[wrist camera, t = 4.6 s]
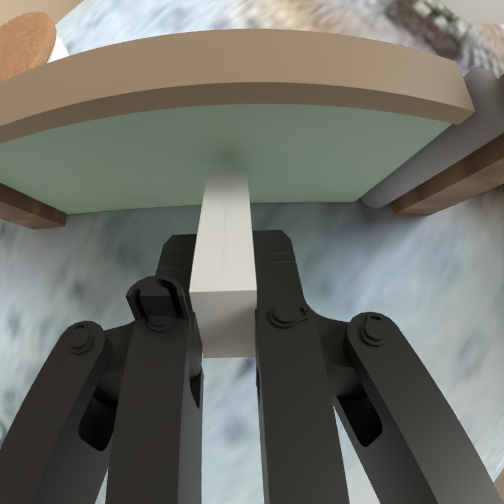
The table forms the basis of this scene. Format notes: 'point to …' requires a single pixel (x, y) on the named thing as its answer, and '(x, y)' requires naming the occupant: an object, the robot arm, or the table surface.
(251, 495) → the table surface
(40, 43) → the lidded jar
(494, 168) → the gate posts
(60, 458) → the robot arm
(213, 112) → the gate
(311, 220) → the table surface
